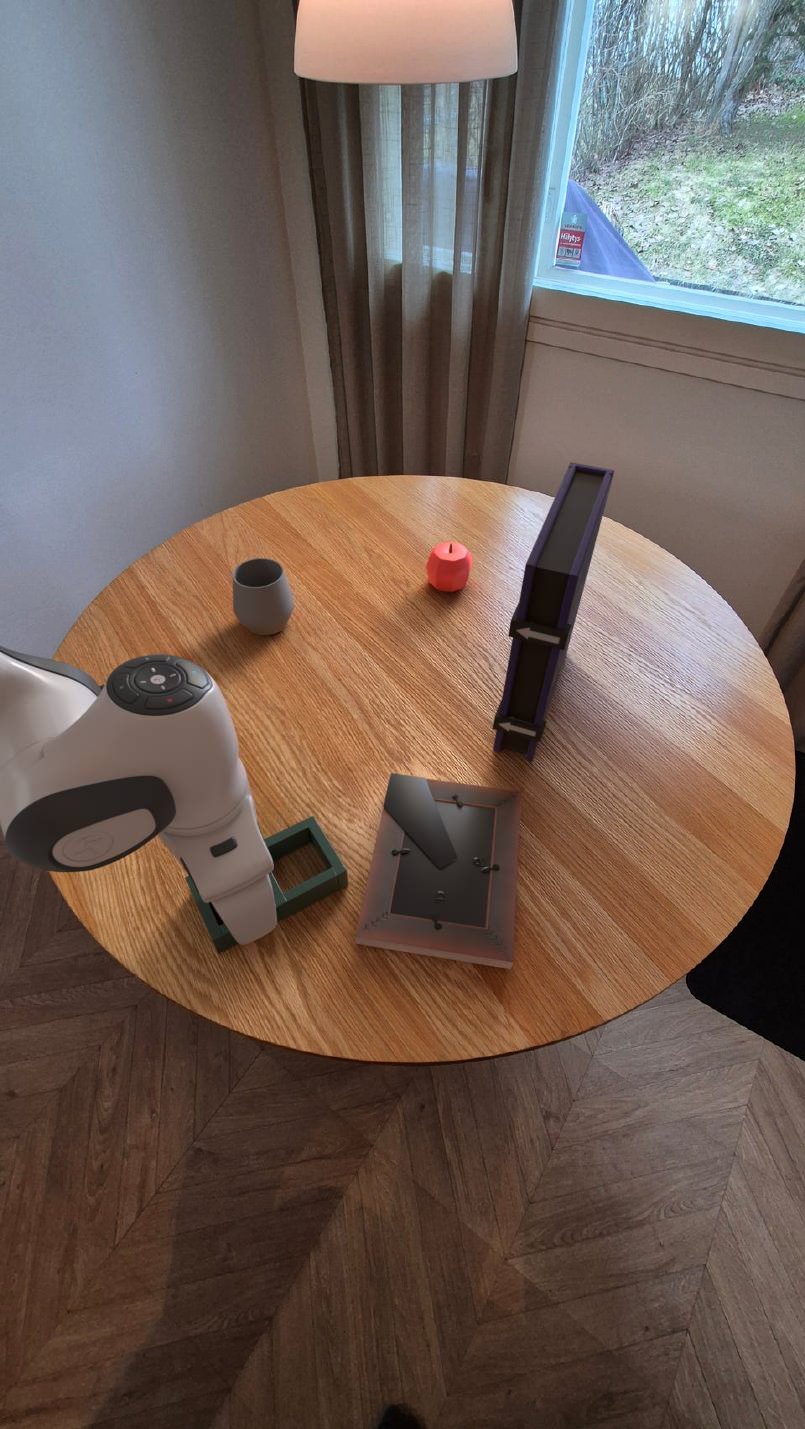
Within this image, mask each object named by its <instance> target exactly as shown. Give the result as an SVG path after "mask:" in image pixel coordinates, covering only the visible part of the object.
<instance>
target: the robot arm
mask: <svg viewBox="0 0 805 1429" xmlns="http://www.w3.org/2000/svg"><path fill="white" fill-rule="evenodd" d="M104 684H105V685H104ZM104 684H103V685H104V687H103V689H102V690H101V688H100V687H99V686H100V685H99V683H98V682H97V681H96V680H95V679H94V678H93V677H92V676H91V675H90V674H89V673H87V672H86V671H85V670H83V669H81V668H78V666H75V665H73V664H69V663H67V662H63V661H59V660H55V659H51V658H46V657H40V656H35V655H31V654H26V653H22V652H20V651H19V652H18V651H15V650H12V649H10V648H8V647H5V646H2V645H0V828H1V832H2V835H3V838H4V843H5V846H6V849H7V850H8V852H9V854H10V855H11V856H12V857H13V858H14V859H16V861H17V860H18V861H19V862H21V863H23V864H24V865H26V866H29V867H32V868H35V869H38V870H43V871H48V872H54V873H80V872H81V873H82V872H89V871H93V870H94V871H95V870H97V869H101V868H103V867H106V866H108V865H111V864H114V863H115V862H118V861H120V860H122V859H125V858H126V857H128V856H130V855H131V854H133V853H135V852H136V851H138V850H139V849H141V848H142V847H144V846H145V845H146V844H147V843H149V842H150V841H151V840H153V839H154V838H155V837H157V836H158V839H159V840H160V842H161V843H162V844H163V846H164V847H165V848H166V849H168V851H169V852H170V853H171V855H172V856H173V857H174V859H176V860H177V861H178V862H179V863H180V865H181V866H182V867H183V870H184V871H185V872H186V874H187V876H189V877H190V879H191V880H192V882H193V884H194V886H195V888H196V890H197V892H198V893H200V896H201V898H202V900H203V901H204V902H205V903H209V904H210V903H211V905H212V904H213V905H212V907H213V906H214V907H215V909H216V911H217V912H218V914H219V916H220V917H221V919H222V920H223V921H222V920H221V919H220V920H221V921H222V922H223V924H224V923H225V925H226V927H227V928H228V930H229V931H230V933H231V934H232V936H233V937H234V939H235V940H236V941H237V942H238V943H239V944H238V945H248V944H250V943H253V942H255V941H257V940H259V939H261V938H263V937H264V936H266V935H268V934H269V933H271V932H272V931H274V930H275V928H276V927H277V925H278V923H277V915H276V907H275V900H274V894H273V889H272V885H271V881H270V878H269V875H268V873H270V872H273V871H274V868H275V867H274V866H275V865H274V862H273V861H272V858H271V855H270V852H269V849H268V847H267V844H266V842H265V840H264V839H265V838H264V835H263V832H262V830H261V827H260V824H259V822H258V815H257V808H256V804H255V801H254V797H253V794H252V791H251V786H250V782H249V779H248V775H247V774H248V773H247V772H246V770H247V769H246V768H245V765H244V763H243V761H242V760H241V758H240V757H239V755H240V754H239V753H240V747H239V746H240V745H239V739H238V735H237V731H236V727H235V725H234V721H233V717H232V715H231V712H230V709H229V706H228V704H227V701H226V699H225V697H224V695H223V693H222V691H221V688H220V687H219V685H218V683H217V682H216V680H214V678H213V677H212V676H211V675H210V674H209V672H208V671H206V670H205V669H204V668H203V667H201V665H198V663H195V662H193V661H191V660H189V659H186V658H184V657H180V656H177V655H172V654H161V653H159V654H155V653H153V654H146V655H141V656H138V657H134V658H130V659H128V660H126V661H124V662H122V663H120V664H119V665H118V666H117V667H115V668H114V669H113V670H112V671H111V672H110V674H109V675H108V676H107V679H106V680H105V683H104Z"/></svg>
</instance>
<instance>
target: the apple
mask: <svg viewBox="0 0 805 1429" xmlns="http://www.w3.org/2000/svg"><path fill="white" fill-rule="evenodd" d="M473 565H474V563H473V556H472V555H471V553H470V551H469V550H468V549H467V548H466V547H465V546H464V545H463V544H461V543H459V542H454V541H445V542H442V543H441V542H440V543H439V544H436V545H435V546H434V547H433V548H432V549H431V552H430V554H429V556H428V558H427V563H426V566H425V568H426V574H427V578H428V582H429V583H430V584H431V585H432V586H433V587H434V588H435V589H436V590H438V591H441V592H449V593H450V592H451V593H453V592H455V591H458V590H461V589H464V588H466V586H467V582H468V580H469V578H470V573H471V572H472V571H471V570H472V568H473Z"/></svg>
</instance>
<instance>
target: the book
mask: <svg viewBox="0 0 805 1429" xmlns="http://www.w3.org/2000/svg"><path fill="white" fill-rule="evenodd" d="M614 476H615V470H614V469H609V468H605V467H599V466H593V465H588V464H582V463H578V462H577V463H576V462H570V463H569V465H568V467H567V469H566V471H565V474H564V476H563V479H562V481H561V483H560V485H559V488H558V490H557V491H556V494H555V496H554V499H553V501H552V503H551V506H550V507H549V511H548V513H547V515H546V517H545V519H544V522H543V524H542V526H541V529H540V531H539V533H538V535H537V538H536V540H535V542H534V543H533V544H534V545H533V546H532V549H531V551H530V554H529V555H528V558H527V561H526V563H525V564H524V571H523V577H522V584H521V589H520V593H519V600H518V603H517V604H516V607H515V609H514V612H513V613H512V617H511V619H510V623H509V630H508V635H507V636H508V638H512V640H511V644H510V645H511V646H510V652H509V657H508V663H507V668H506V674H505V680H504V684H503V692H502V697H501V700H500V702H499V705H498V707H497V709H496V712H495V714H494V718H493V722H492V723H493V724H492V730H495V737H494V743H493V749H492V751H493V752H494V753H497V754H499V753H500V752H501V750H502V748H505V749H509V750H513V751H517V752H520V753H524V754H526V756H525V761H526V762H528V763H532V762H533V760H534V757H535V754H536V752H537V749H538V744H539V743H541V742H542V740H543V736H544V732H545V729H546V726H547V716H548V714H549V710H550V707H551V704H552V701H553V697H554V695H555V692H556V688H557V685H558V682H559V679H560V675H561V672H562V669H563V666H564V663H565V659H566V657H567V654H568V650H569V646H570V642H571V638H572V634H573V632H574V628H575V624H576V620H577V616H578V612H579V608H580V604H581V600H582V596H583V593H584V589H585V585H586V581H587V578H588V574H589V570H590V566H591V562H592V558H593V554H594V550H595V548H596V544H597V539H598V536H599V531H600V528H601V524H602V520H603V516H604V512H605V508H606V505H607V501H608V497H609V493H610V490H611V486H612V481H613V478H614Z"/></svg>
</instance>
